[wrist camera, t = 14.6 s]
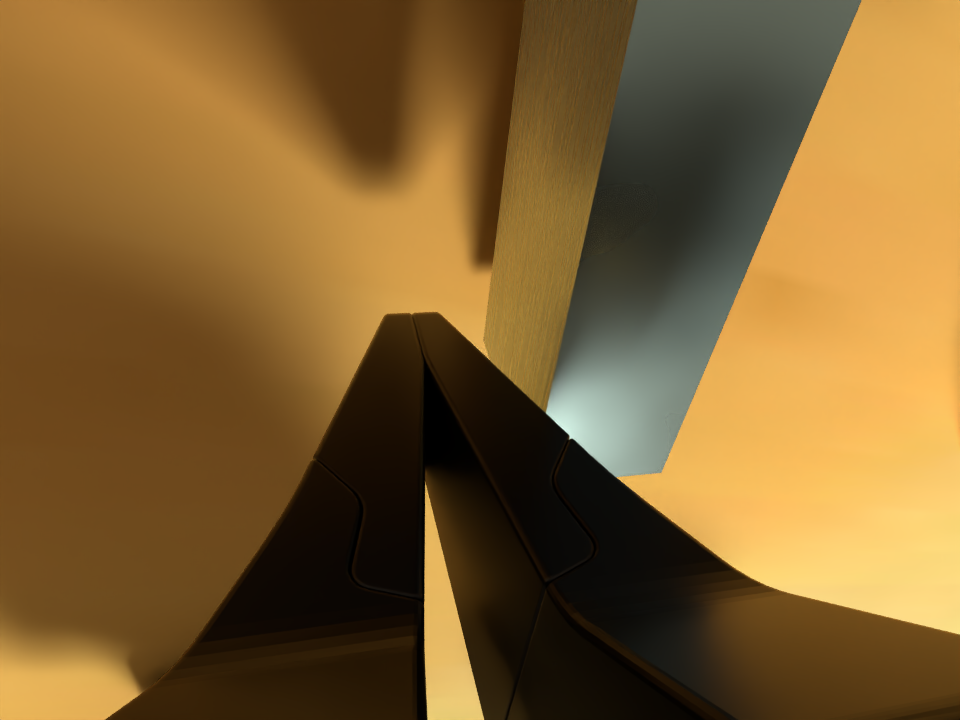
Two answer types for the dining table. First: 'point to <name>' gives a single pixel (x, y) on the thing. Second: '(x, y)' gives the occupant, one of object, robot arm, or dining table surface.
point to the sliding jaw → (643, 199)
